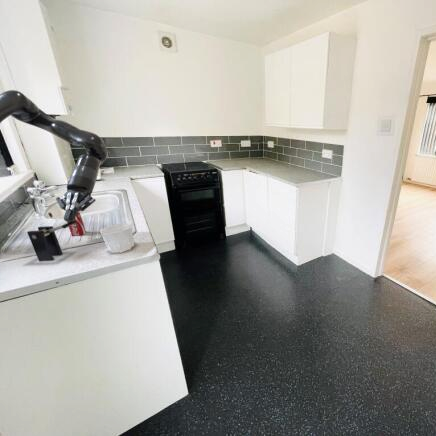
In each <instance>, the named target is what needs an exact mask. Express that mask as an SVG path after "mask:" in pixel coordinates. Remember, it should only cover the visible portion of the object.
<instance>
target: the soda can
mask: <svg viewBox="0 0 436 436" xmlns="http://www.w3.org/2000/svg"><path fill="white" fill-rule="evenodd" d="M65 213H66V211H65V212H64V214H65ZM73 221H74V220H73ZM75 221H76V223H75V224H73V225H71V226H69V227H68V229H69V232H70V234H71V237H81V236H84V235H86V234H87V229H86V227H85V224H84V221H83V217H82V214H81V213H80V211H79V212H78V213H77V215H76V217H75ZM67 223H69V222H67V221H66V224H67Z"/></svg>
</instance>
